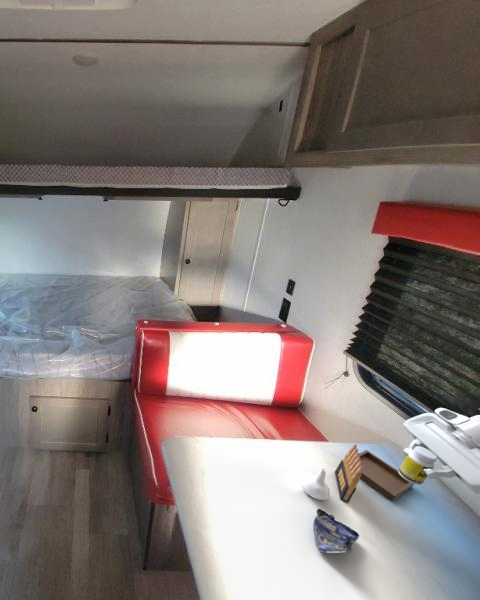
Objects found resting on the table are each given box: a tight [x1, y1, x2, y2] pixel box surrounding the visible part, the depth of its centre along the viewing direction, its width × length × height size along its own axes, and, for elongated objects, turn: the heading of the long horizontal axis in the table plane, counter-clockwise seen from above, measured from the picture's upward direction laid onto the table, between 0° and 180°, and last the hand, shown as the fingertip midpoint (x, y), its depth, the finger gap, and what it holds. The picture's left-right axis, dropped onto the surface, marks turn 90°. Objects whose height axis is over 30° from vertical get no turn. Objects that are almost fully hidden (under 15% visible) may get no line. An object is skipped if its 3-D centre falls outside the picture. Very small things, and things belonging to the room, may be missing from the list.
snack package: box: [312, 508, 360, 554], centre depth 79 cm, size 12×6×12 cm
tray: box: [358, 449, 415, 502], centre depth 98 cm, size 12×12×2 cm
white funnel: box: [301, 467, 331, 501], centre depth 90 cm, size 6×6×8 cm
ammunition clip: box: [334, 444, 363, 504], centre depth 92 cm, size 11×2×12 cm, turn 151°
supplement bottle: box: [397, 446, 438, 486], centre depth 83 cm, size 5×5×8 cm
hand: (415, 463), depth 83 cm, fingers closed on supplement bottle, 5 cm apart
